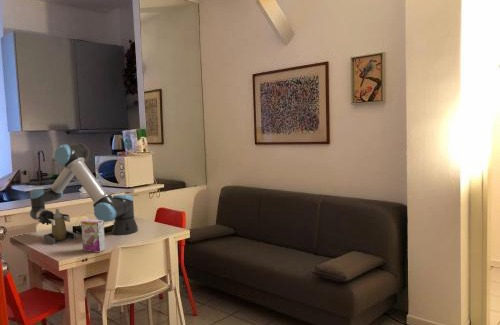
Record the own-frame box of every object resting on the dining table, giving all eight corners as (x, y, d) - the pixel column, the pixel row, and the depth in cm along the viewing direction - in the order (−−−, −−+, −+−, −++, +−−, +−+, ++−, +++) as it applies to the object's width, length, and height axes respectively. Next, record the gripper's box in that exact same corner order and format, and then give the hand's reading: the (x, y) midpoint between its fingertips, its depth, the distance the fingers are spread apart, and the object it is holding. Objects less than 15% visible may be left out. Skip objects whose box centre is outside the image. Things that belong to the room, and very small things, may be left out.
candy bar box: (82, 251, 225) (80, 221, 223) (89, 248, 230) (86, 219, 228) (99, 252, 222) (97, 222, 220) (106, 249, 226) (103, 220, 224)
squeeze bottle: (55, 237, 252) (52, 207, 250) (69, 236, 253) (66, 207, 250) (50, 241, 244) (47, 211, 242) (64, 240, 245) (61, 210, 243)
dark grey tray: (44, 240, 248) (43, 234, 248) (65, 235, 258) (65, 229, 257) (53, 244, 239) (53, 238, 239) (76, 239, 249) (75, 233, 249)
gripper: (62, 218, 267) (79, 223, 252) (27, 225, 252) (43, 231, 237) (61, 206, 266) (78, 211, 251) (26, 213, 251) (42, 218, 236)
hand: (61, 221), depth 244 cm, fingers open, 8 cm apart
